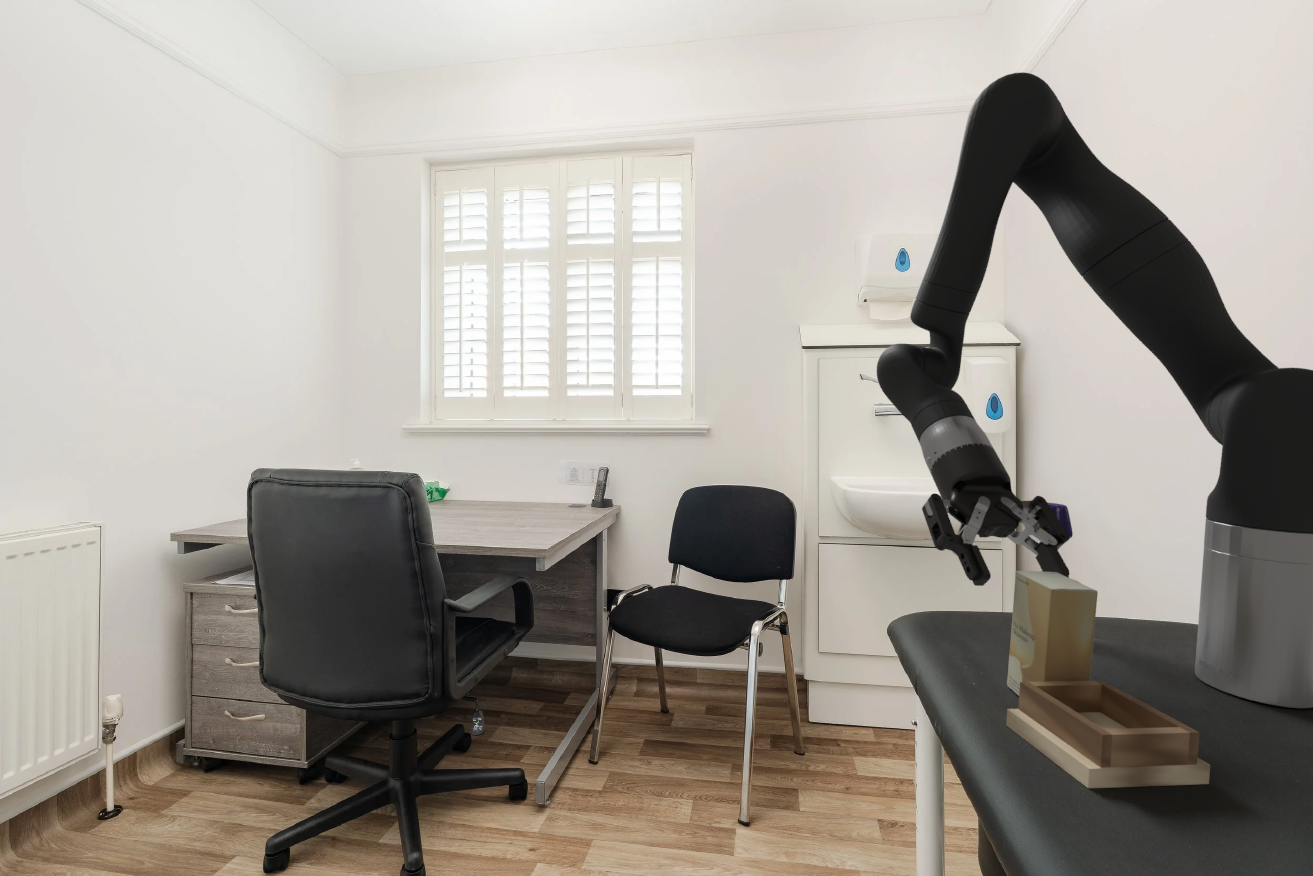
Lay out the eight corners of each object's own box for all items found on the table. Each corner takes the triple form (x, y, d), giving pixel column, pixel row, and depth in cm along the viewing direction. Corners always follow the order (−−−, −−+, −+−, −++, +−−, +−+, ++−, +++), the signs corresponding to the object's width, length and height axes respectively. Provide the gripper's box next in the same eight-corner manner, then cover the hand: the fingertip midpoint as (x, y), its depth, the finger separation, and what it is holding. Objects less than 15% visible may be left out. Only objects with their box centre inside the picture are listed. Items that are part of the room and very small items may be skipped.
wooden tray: (1108, 722, 55) (1111, 679, 55) (1209, 784, 46) (1212, 732, 46) (1006, 725, 54) (1008, 681, 54) (1088, 788, 45) (1091, 736, 45)
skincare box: (1005, 686, 62) (1011, 568, 61) (1048, 688, 62) (1055, 570, 61) (1043, 718, 55) (1051, 587, 55) (1091, 720, 55) (1099, 589, 55)
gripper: (918, 439, 69) (975, 563, 59) (1034, 443, 71) (1109, 564, 60) (894, 480, 75) (941, 599, 64) (1001, 482, 76) (1065, 600, 65)
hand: (1022, 582), depth 62 cm, fingers open, 8 cm apart
